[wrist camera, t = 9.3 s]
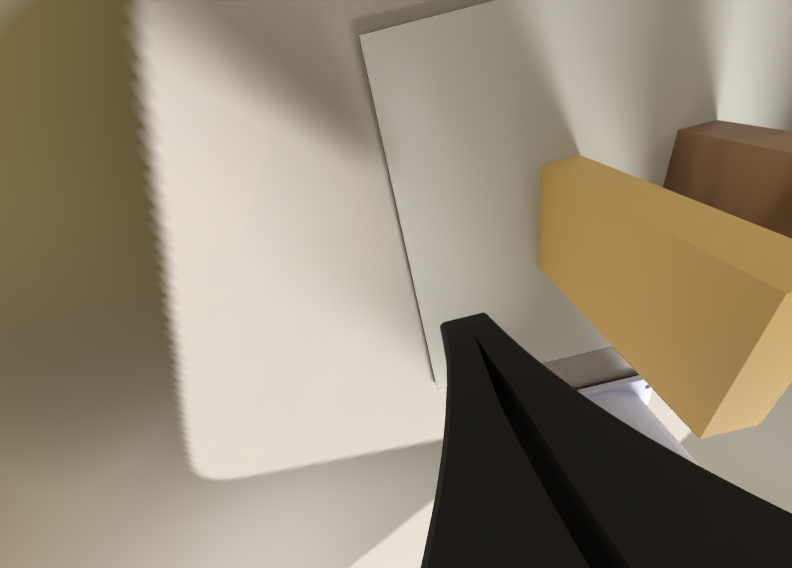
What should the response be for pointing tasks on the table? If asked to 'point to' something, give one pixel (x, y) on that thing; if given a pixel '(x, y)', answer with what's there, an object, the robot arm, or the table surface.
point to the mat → (549, 132)
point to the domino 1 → (736, 171)
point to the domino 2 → (673, 290)
